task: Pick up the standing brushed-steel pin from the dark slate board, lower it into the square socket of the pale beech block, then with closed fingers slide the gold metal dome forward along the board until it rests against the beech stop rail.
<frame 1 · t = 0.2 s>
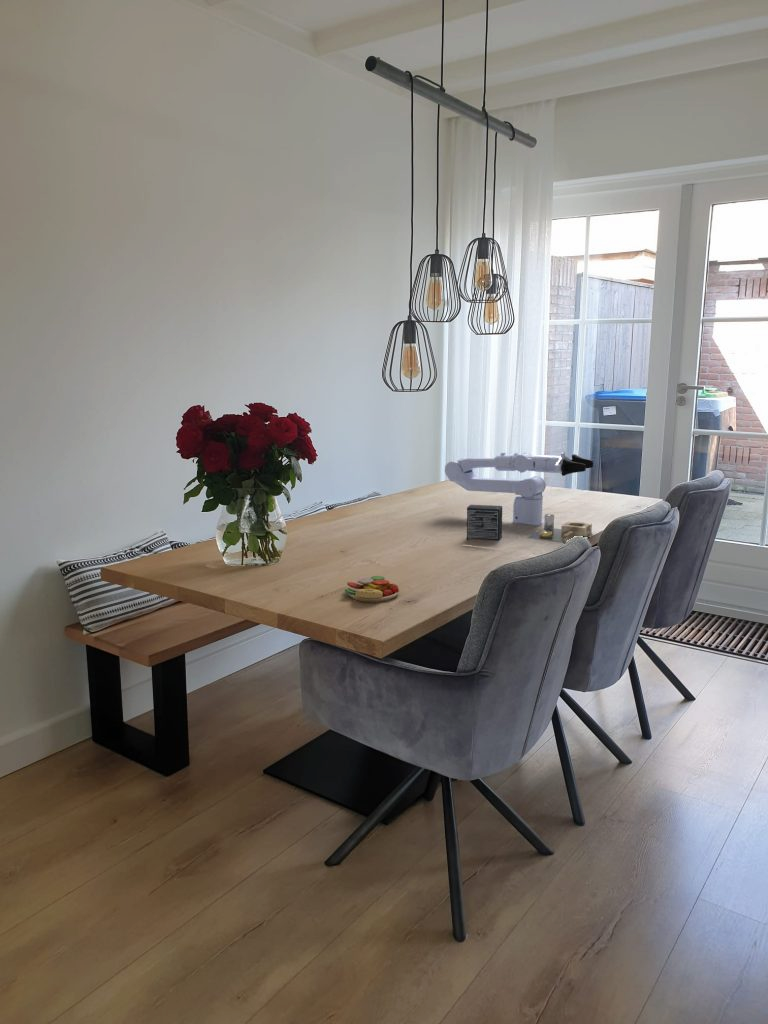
hand: (589, 465, 267), 21 cm above the table, tool horizontal, fingers open, 7 cm apart
gold metal dome: (545, 537, 258), resting on slate board
steel pin: (548, 533, 264), resting on slate board
small box: (484, 539, 259), on the table
beech socket block: (576, 533, 263), resting on slate board
slate board: (558, 536, 261), on the table
beech stop rail: (567, 539, 255), resting on slate board
toy food set: (371, 596, 202), on the table
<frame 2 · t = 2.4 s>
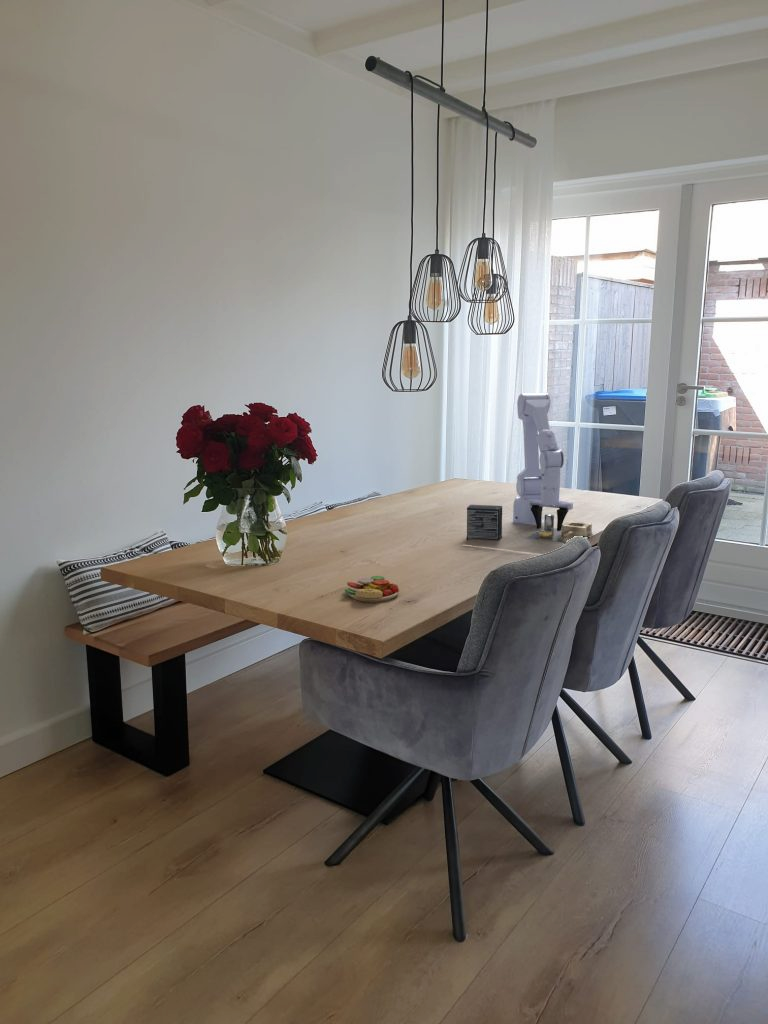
hand: (548, 529, 264), 2 cm above the table, tool pointing down, fingers open, 6 cm apart
nothing on the table moved.
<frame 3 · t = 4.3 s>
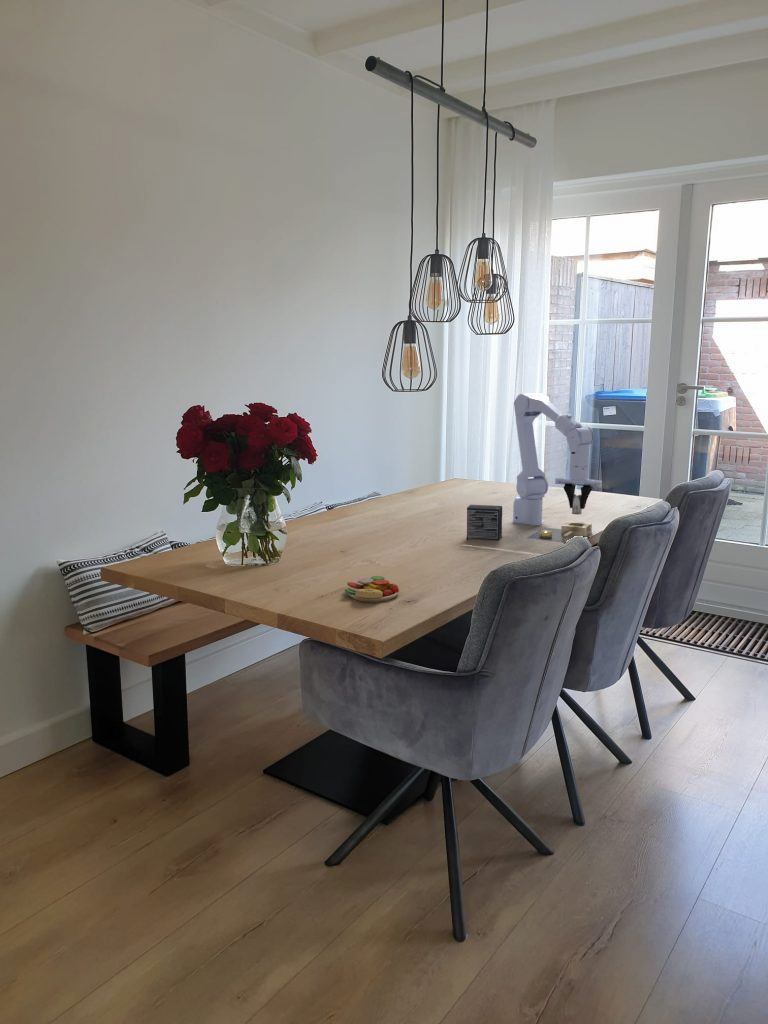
hand: (577, 507, 261), 9 cm above the table, tool pointing down, fingers closed on steel pin, 3 cm apart
steel pin: (576, 513, 261), point 7 cm above the table, touching gripper
everything else where it was.
when the fingers open (4 cm above the table, at t = 5.5 s): steel pin drops 2 cm, resting on slate board.
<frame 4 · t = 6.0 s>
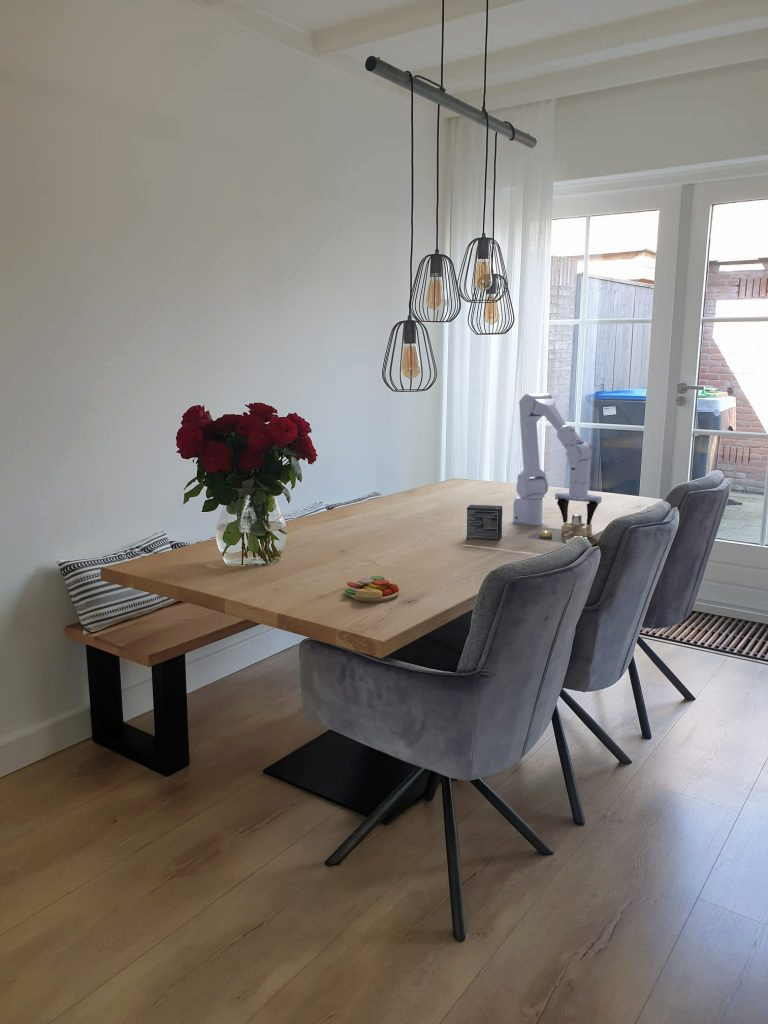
hand: (576, 523, 262), 4 cm above the table, tool pointing down, fingers open, 7 cm apart
steel pin: (576, 533, 263), point 1 cm above the table, touching slate board
everything else where it was.
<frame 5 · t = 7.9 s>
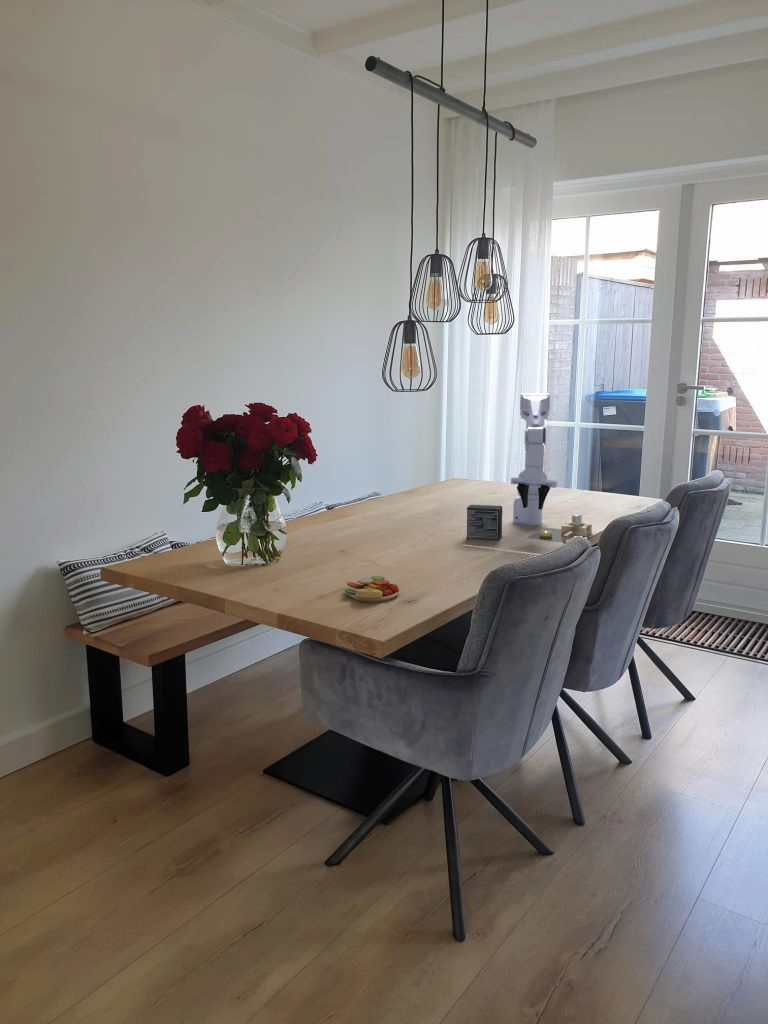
hand: (532, 508, 259), 9 cm above the table, tool pointing down, fingers open, 4 cm apart
nothing on the table moved.
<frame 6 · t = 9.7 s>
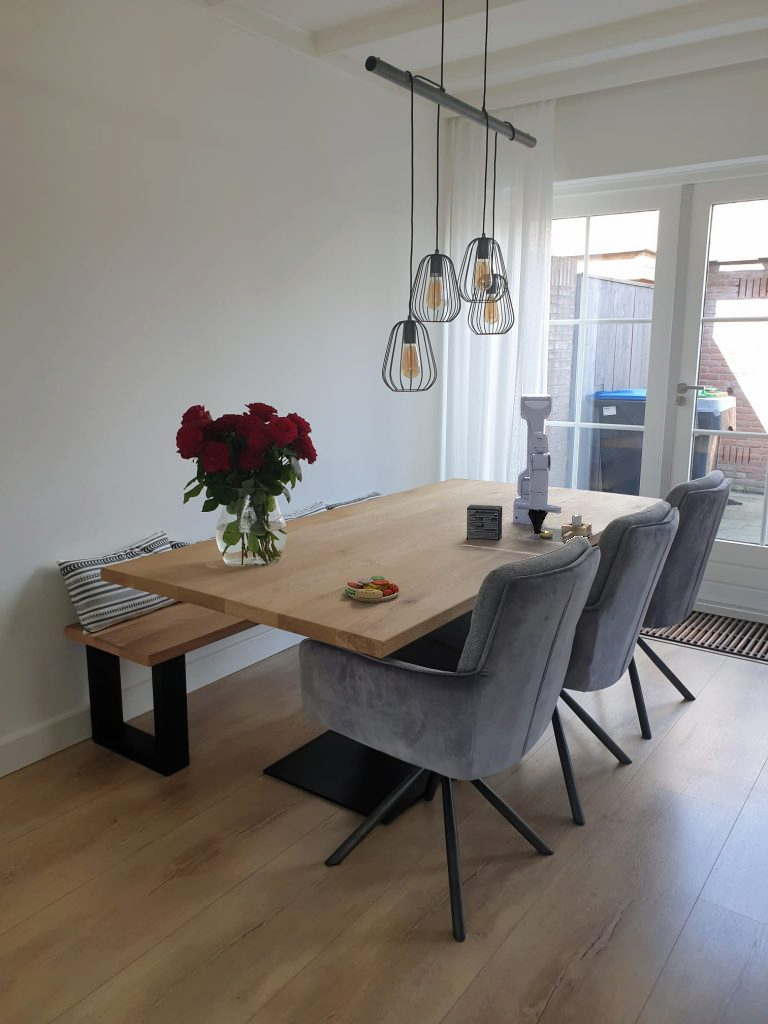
hand: (537, 533, 259), 1 cm above the table, tool pointing down, fingers closed
gold metal dome: (546, 537, 258), point 1 cm above the table, touching gripper
everything else where it was.
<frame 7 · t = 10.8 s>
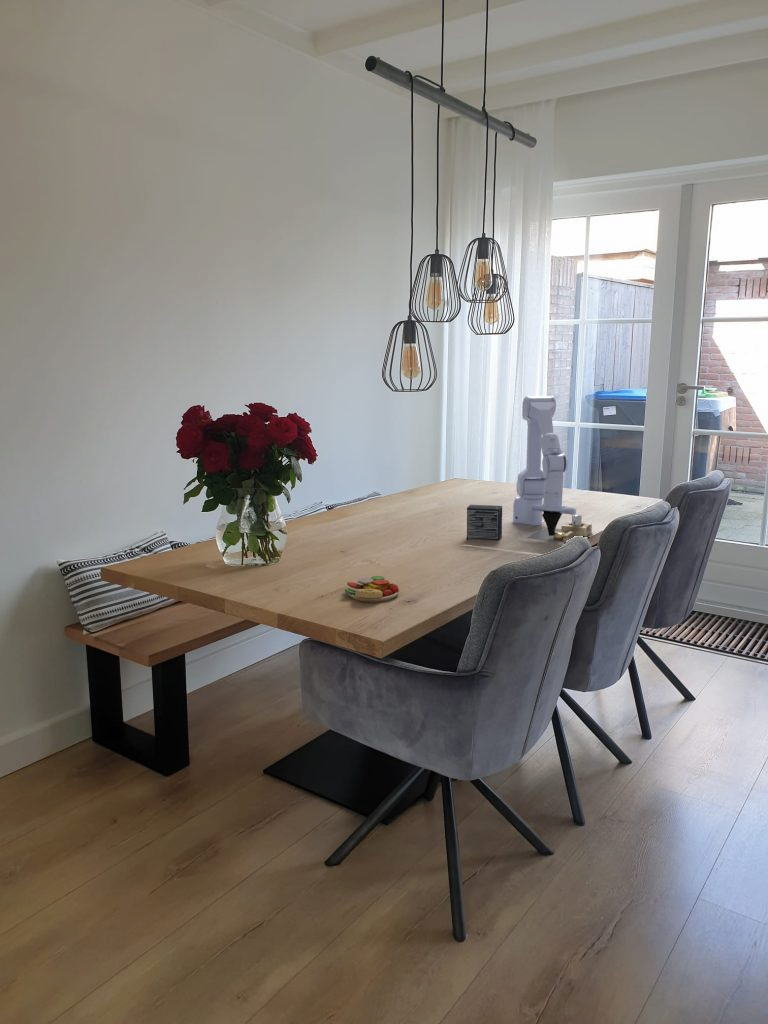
hand: (551, 535, 257), 1 cm above the table, tool pointing down, fingers closed
gold metal dome: (559, 538, 256), resting on slate board, touching beech stop rail, gripper
everything else where it was.
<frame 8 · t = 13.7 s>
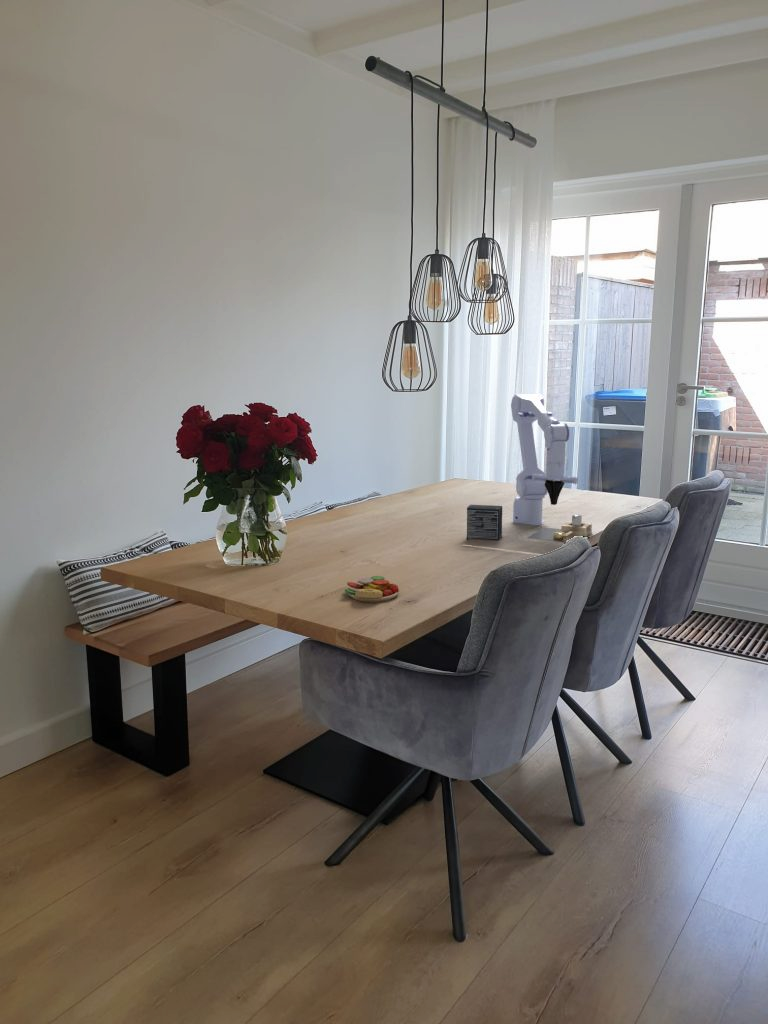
hand: (553, 504, 262), 10 cm above the table, tool pointing down, fingers closed
gold metal dome: (559, 538, 256), resting on slate board, touching beech stop rail
everything else where it was.
at the end: steel pin 0.3 cm off-centre on the beech socket block, point 0.0 cm above the beech socket block's base; gold metal dome 0.2 cm from the target spot, point 0.5 cm above the table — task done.
